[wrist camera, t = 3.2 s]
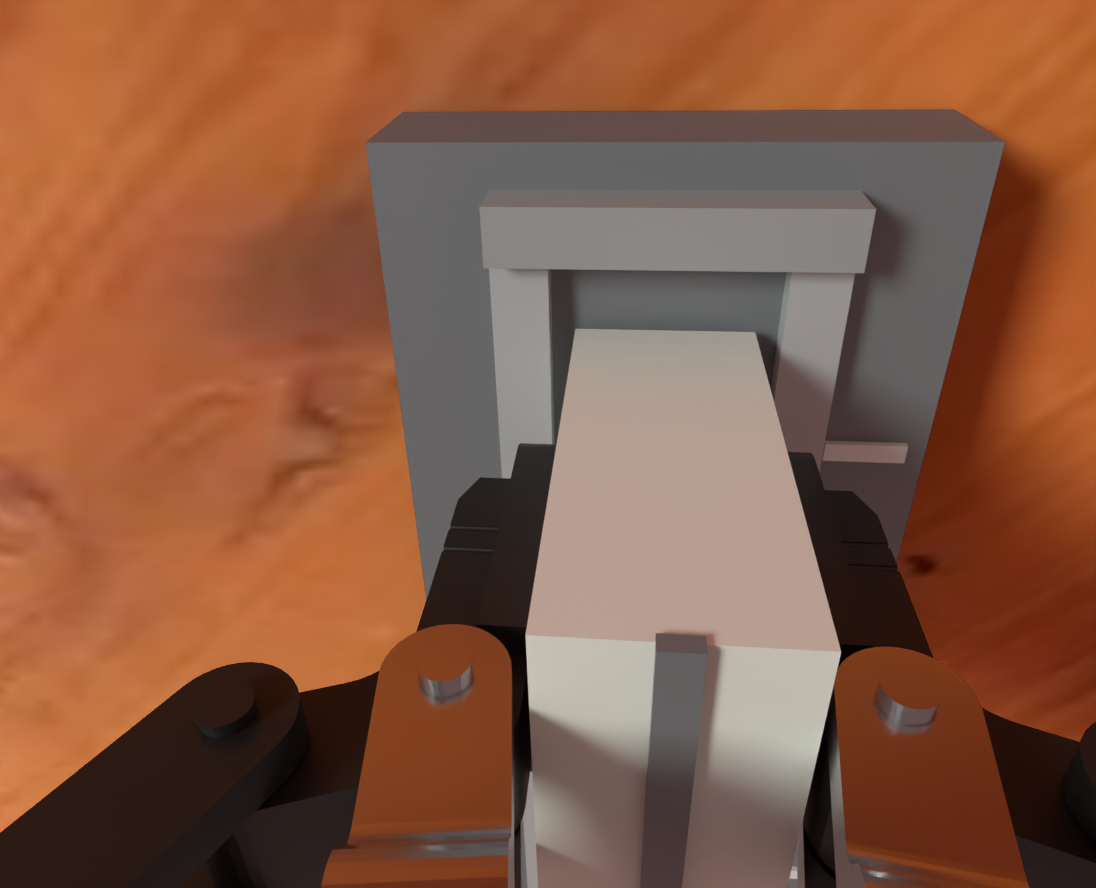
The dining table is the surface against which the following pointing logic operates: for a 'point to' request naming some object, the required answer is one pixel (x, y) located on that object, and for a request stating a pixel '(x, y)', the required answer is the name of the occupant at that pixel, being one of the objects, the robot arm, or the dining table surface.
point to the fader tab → (673, 623)
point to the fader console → (676, 278)
